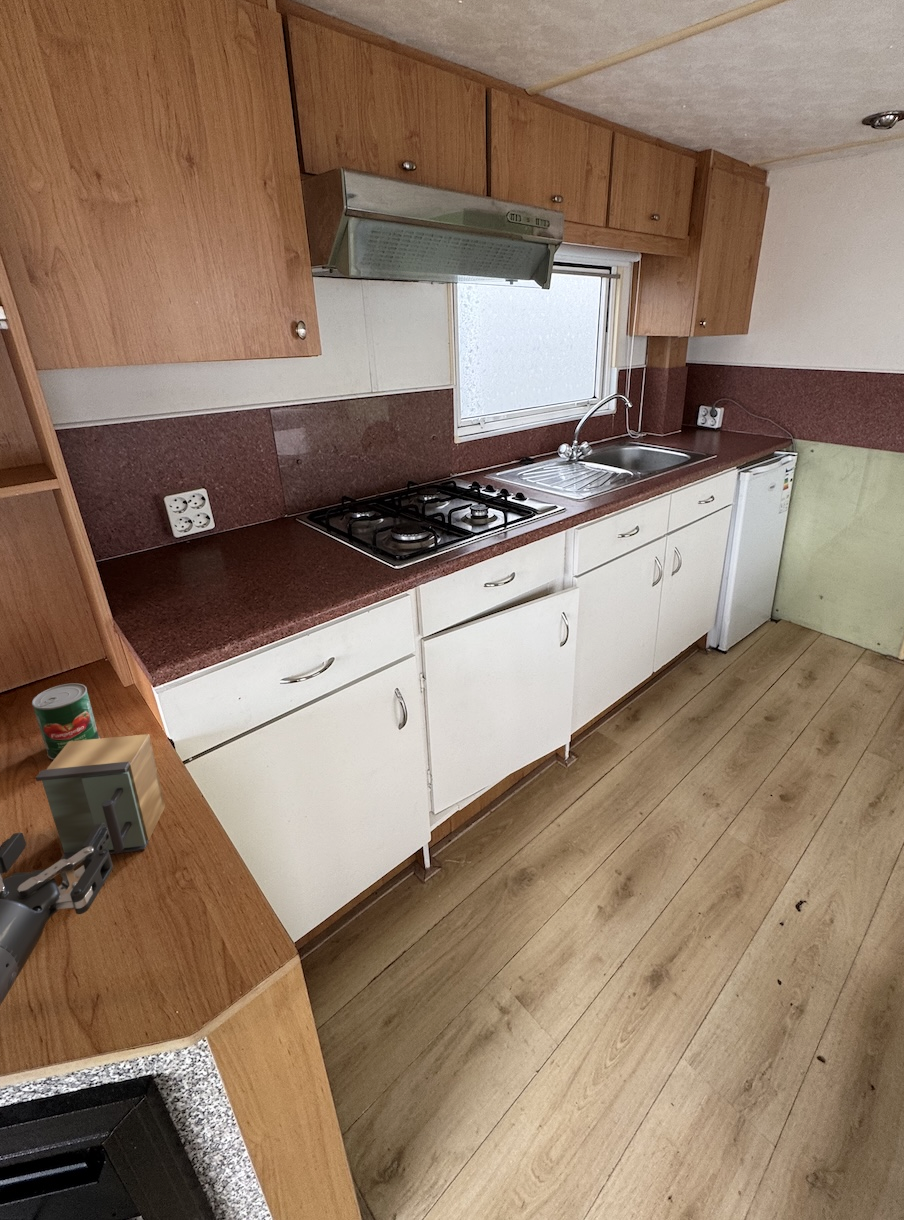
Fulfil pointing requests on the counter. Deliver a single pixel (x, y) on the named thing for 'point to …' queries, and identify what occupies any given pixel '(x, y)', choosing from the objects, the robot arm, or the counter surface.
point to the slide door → (115, 809)
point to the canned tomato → (64, 716)
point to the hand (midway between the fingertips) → (62, 833)
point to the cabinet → (98, 760)
